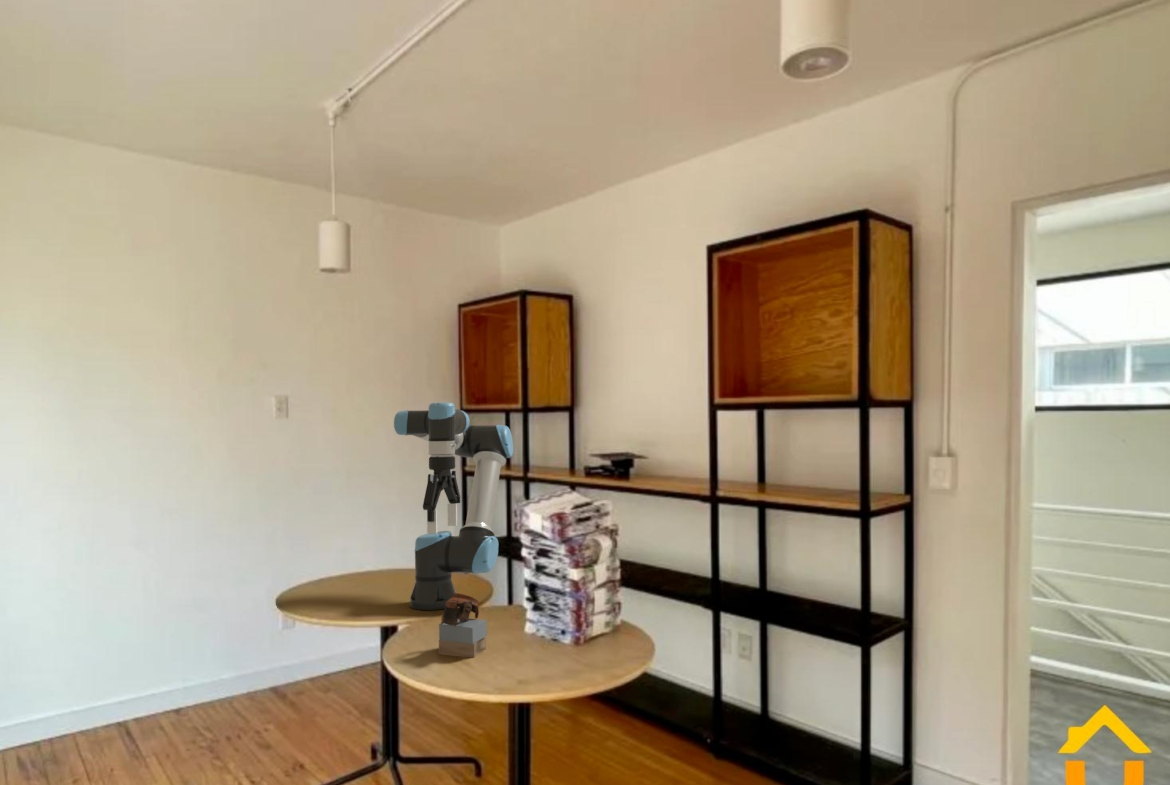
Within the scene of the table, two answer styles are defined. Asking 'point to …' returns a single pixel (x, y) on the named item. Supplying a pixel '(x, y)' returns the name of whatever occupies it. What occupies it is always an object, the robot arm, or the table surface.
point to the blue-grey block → (463, 631)
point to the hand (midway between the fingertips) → (442, 529)
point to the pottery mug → (459, 609)
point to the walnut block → (462, 648)
